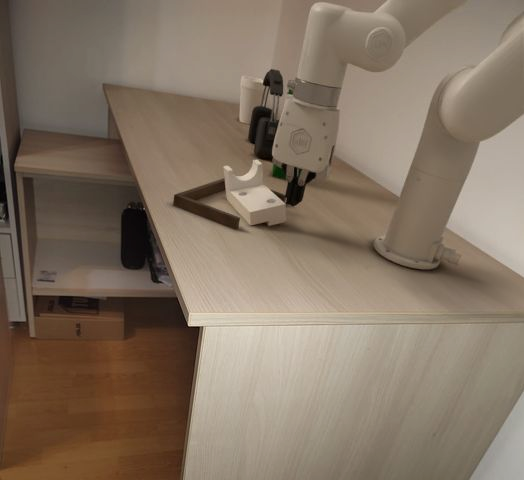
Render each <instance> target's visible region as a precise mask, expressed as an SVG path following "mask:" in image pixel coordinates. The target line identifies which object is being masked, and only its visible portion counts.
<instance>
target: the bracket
mask: <svg viewBox="0 0 524 480" xmlns="http://www.w3.org/2000/svg"><path fill="white" fill-rule="evenodd" d="M223 174H224V175H223V178H225V188H226V189H225V197H226V200H227V202H229V204H231V206H232V207H233V208H234V209H235V210H236V212H237V213H239V215H240V216H241V217H242V218H243V219H244V220H245V221H246V222H247V223H248V224H249V225H250V226H254V225H258V224H263V223H265V224H266V225H267V226H268V227H270V226H274V225H278V224H279V225H280V224H283V223H286V222H287V210H286V205H287V204H286V202H285V203H284V202H283V201H282V200H281V199H279V198H278V197H277V196H276V195H275V194H274V193H273V192H272V191H270V190H271V189H270V190H269V188H268V186H266V185H265V184H264V169H263V163H262V162H261V161H259V159H253V160H252V164H251V167H250V169H249V171H247V173H245V174H244V175H241V176H240V175H239V176H238V175H235V174H234V169H232V168H231V167H230V166H229V165H224V166H223Z"/></svg>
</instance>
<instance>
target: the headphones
mask: <svg viewBox="0 0 524 480" xmlns="http://www.w3.org/2000/svg"><path fill="white" fill-rule="evenodd" d="M283 78H284V77H283V75H282V73H281V71H280V70H279V69H273V68H270V69H269V71H267V72H266V73H265V75H264V78H263V79H262V80H263V86H265V88H264V92H263V96H262V101H261V106H256V107H254V108H253V111H252V116H251V122H250V124H249V129H248V135H247V139H248V142H250V143H253V144H254V148H253V149H254V150H253V154H254V156H256V157H258V158H264V159H269V160H270V159H271V160H273V156H272V149H273V144H274V139H275V135H276V131H277V128H278V124H279V121H280V119H278V114H279V107H280V105H279V104H280V97H283V95H284V79H283ZM267 86H268V87H269V88H268V91H267V94H266V97H265V100H264V104H263V99H264V95H265V91H266V87H267ZM269 94H270V96H273V97H272V108H270V107H267V101H268V97H269ZM262 105H263V106H262ZM275 106H276V108H275Z"/></svg>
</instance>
